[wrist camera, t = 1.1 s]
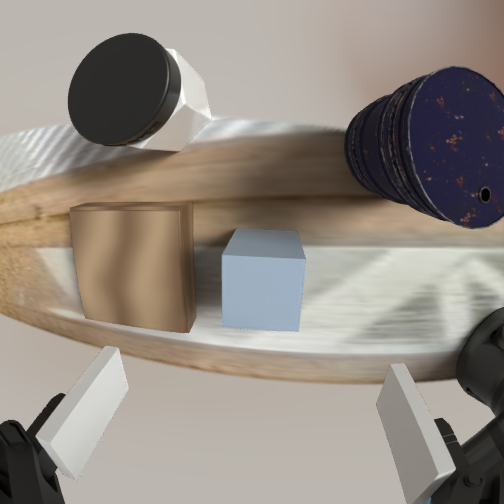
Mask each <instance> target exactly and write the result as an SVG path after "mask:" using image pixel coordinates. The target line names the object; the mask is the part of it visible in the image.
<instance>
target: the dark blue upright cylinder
mask: <svg viewBox="0 0 504 504" xmlns="http://www.w3.org/2000/svg"><path fill="white" fill-rule="evenodd" d="M344 151H345V157H346V161H347V164H348V167H349V169H350V171H351V172H352V174H353V176H354V177H355V178H356V180H357V181H358V182H359V183H360V184H361V185H362V186H363V187H365V188H366V189H367V190H369V191H371V192H373V193H375V194H377V195H379V196H381V197H383V198H385V199H388V200H391V201H394V202H396V203H399V204H405V205H409V206H410V207H412V208H414V209H415V210H417V211H419V212H421V213H424V214H427V215H430V216H432V217H435V218H437V219H440V220H443V221H449V222H451V223H453V224H456V225H458V226H460V227H463V228H468V229H482V228H486V227H489V226H491V225H493V224H495V223H497V222H498V221H500V220H501V219H502V218H504V94H503V93H502V91H501V90H500V89H499V88H498V87H497V86H496V85H495V84H494V83H493V82H492V81H491V80H490V79H488V78H487V77H485V76H484V75H483V74H481V73H479V72H477V71H475V70H473V69H470V68H466V67H462V66H450V67H444V68H441V69H439V70H436V71H434V72H432V73H430V74H428V75H424V76H421V77H419V78H416V79H415V80H412V81H411V82H409V83H407V84H405V85H402V86H401V87H400V88H398V89H397V90H395V91H394V93H393V94H390V95H386V96H383V97H381V98H379V99H377V100H376V101H374V102H373V103H371V104H370V105H368V106H367V107H365V108H364V109H363V110H362V111H360V112H359V113H358V114H357V115H356V116H355V117H354V118H353V119H352V121H351V122H350V124H349V126H348V128H347V131H346V135H345V141H344Z"/></svg>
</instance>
